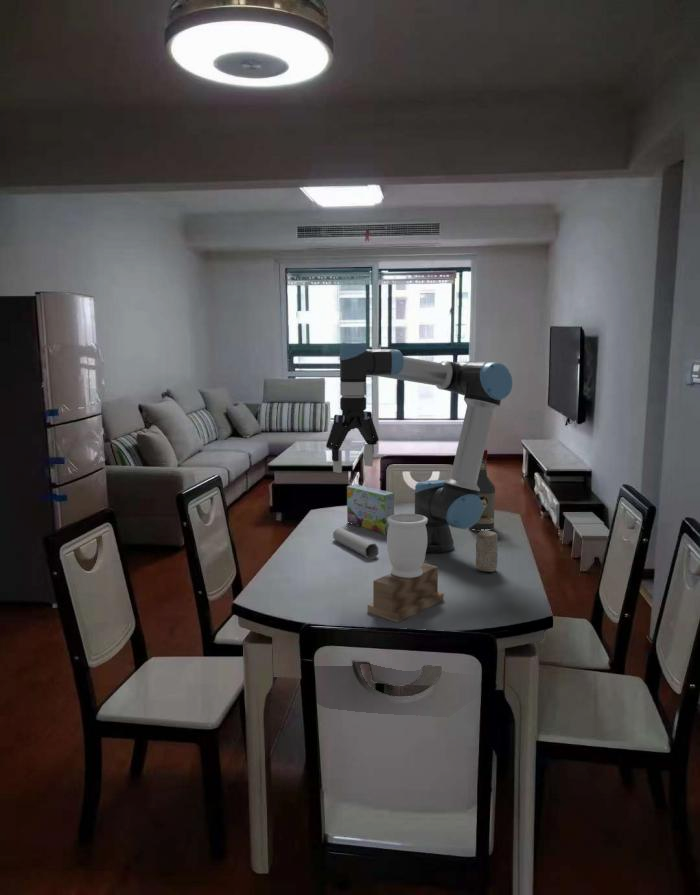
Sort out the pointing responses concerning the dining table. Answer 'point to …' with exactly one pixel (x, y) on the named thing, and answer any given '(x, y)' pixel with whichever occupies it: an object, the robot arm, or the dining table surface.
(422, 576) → the wooden block
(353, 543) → the tube
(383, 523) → the snack box
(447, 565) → the dining table surface
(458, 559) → the dining table surface
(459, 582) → the dining table surface
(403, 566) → the jar
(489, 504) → the liquor
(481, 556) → the carving
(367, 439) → the robot arm
